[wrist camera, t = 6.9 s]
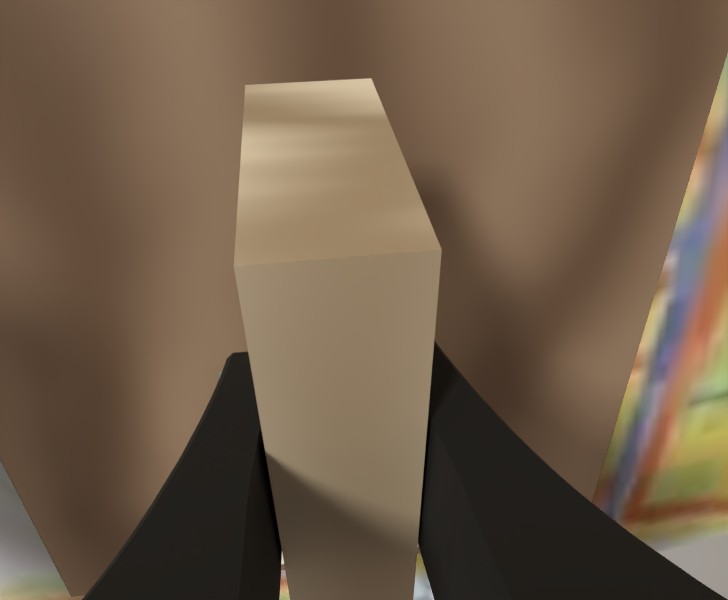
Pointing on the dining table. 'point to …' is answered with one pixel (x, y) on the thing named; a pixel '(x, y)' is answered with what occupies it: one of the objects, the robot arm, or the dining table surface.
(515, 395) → the board
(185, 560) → the robot arm
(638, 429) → the dining table surface
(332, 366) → the beige long rectangular bar
